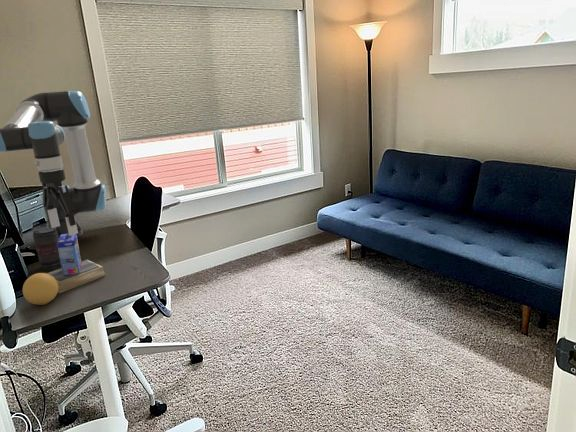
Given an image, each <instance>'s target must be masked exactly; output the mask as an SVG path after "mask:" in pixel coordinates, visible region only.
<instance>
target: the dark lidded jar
mask: <svg viewBox="0 0 576 432" xmlns="http://www.w3.org/2000/svg"><path fill="white" fill-rule="evenodd" d="M32 237H33V241H34V246H35V247H36V248H35V251H36V252H35V253H37V257H38V262H39V263H40V266H42V269H43V270H53V269H57V268H59V267H62V266H61V261H60V256H59V251H58V246H57V242H58V240H59V238H58V234H57V231H56V228H51V227H47V226H43V227H38V228H36V229H34V230H33V231H32Z"/></svg>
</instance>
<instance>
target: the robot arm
mask: <svg viewBox="0 0 576 432" xmlns="http://www.w3.org/2000/svg"><path fill="white" fill-rule="evenodd" d="M89 107H90V106H89V105H88V101H87V99H86V98H85V95H84V94H83V93H82V92H81V91H79V90H64V91H63V90H62V91H52V92H51V91H50V92H40V93H39V92H38V93H36V94H35V93H34V94H33V95H30V96H28V97H27V98H25V99H23V100H22V101H21V102H20V103H19V104H18V105H17V106H16V108H15V110H16V111H15V112H14V114H13V115H12V116H11V117H10V118H9V120H8V121H7V122H6V123H5V125H4V126H3V127H2V128H0V153H1V152H2V153H3V152H4V153H7V152H15V151H16V152H17V151H26V150H32V151H33V155H34V159H35V161H34V165H36V168H37V170H38V176H39V181H40V183H41V186H42V193H41V200H42V201H41V202H42V206H43V209H44V214H45V218H46V222H47V226H46V227H51V228H56V231H57V234H58V238H59V237H60V235H62V234H68V233H69V235H74V234H77V239H78V238H80V237H81V236H83V234H84V233H83V228H82V226H81V225H80V223H79V222H78V221H77V218H76V215H77V214H81V213H82V214H83V213H91V212H98V211H99V212H100V211H103V210H105V209H106V207H107V188H106V187H107V186H106V185H105V184H102V182H101V180H100V179H98V178H97V176H96V171H95V166H94V162H93V158H92V153H91V149H90V144H89V141H88V135H87V131H86V126H87V124H88V122H89V121H88V120H90V118H91V113H90V108H89ZM54 122H56V124H54ZM64 141H65V142H66V149H67V152H68V155H69V159H70V164H71V167H72V172H73V176H74V180H75V181H74V183H73V184H72V188H71V187H70V186H69V185H68V184H66V185H63V183H62V182H63V181H65V180H66V174H65V170H64V163H63V159H62V154H61V151H60V146H61V145H62V144H63V143H64Z"/></svg>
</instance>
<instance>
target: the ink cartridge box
mask: <svg viewBox="0 0 576 432" xmlns="http://www.w3.org/2000/svg"><path fill="white" fill-rule="evenodd" d="M57 246H58V251H59V256H60V261H61V266H60V267H61V268H62V271H63V276H64V275H71V274H79V273H80V269H81V266H82V263H81V261H82V257H81V252H80V247H79V246H80V245H79V242H78V238H77V234H74V235H69V233H68V234H62V235H60V237H59V240H58V242H57Z"/></svg>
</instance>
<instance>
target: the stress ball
mask: <svg viewBox="0 0 576 432" xmlns="http://www.w3.org/2000/svg"><path fill="white" fill-rule="evenodd" d="M48 273H49V272H36V273H33V274H32V275H30V276H29V277H28V278H27V279H26V280H25V281H24V283H23V286H22V294H23V297H24V298H25V300H27V302H29V303H30V304H33V305H40V306H44V305H48V304H49V303H50V302H51V301H53V300H54V299H55V298H56V297H57V294H58V293H59V292H58V286H59V283H58V281H57V280H56V279H55V278H54V277H53V276H52V275H51V274H48Z"/></svg>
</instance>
